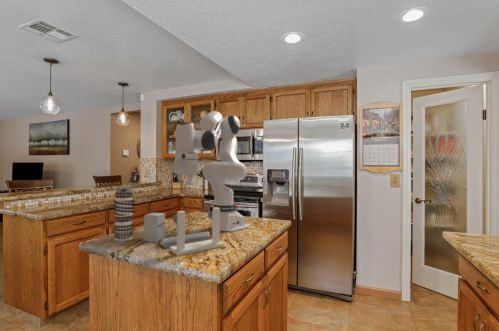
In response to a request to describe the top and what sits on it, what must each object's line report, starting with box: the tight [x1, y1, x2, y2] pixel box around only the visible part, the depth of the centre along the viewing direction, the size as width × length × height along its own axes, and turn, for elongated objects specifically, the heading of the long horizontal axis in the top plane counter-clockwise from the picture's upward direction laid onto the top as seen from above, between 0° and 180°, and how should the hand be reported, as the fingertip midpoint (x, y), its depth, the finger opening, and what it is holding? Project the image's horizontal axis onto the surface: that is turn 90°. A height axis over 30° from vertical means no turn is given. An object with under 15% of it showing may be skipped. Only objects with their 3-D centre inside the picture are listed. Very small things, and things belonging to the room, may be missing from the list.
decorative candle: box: [113, 187, 135, 242], centre depth 131 cm, size 9×9×25 cm
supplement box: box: [143, 212, 166, 243], centre depth 130 cm, size 7×7×13 cm
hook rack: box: [169, 207, 224, 257], centre depth 118 cm, size 22×8×18 cm, turn 128°
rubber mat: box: [158, 236, 212, 250], centre depth 127 cm, size 24×8×1 cm, turn 128°
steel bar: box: [160, 231, 211, 245], centre depth 127 cm, size 24×2×2 cm, turn 128°
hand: (184, 184), depth 128 cm, fingers open, 8 cm apart
